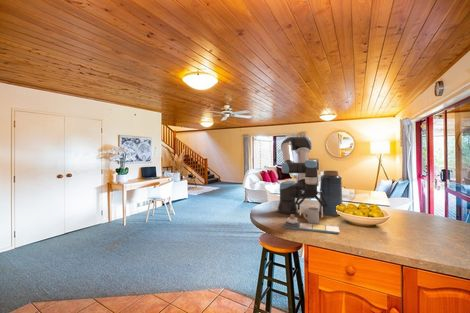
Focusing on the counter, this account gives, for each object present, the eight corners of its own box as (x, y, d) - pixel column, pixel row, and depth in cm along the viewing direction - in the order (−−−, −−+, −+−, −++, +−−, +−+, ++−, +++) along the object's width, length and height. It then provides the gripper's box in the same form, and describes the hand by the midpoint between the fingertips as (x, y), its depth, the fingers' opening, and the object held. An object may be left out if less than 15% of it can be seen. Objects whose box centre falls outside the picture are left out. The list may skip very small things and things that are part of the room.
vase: (321, 215, 160) (321, 172, 159) (317, 209, 176) (317, 170, 175) (345, 216, 156) (345, 172, 155) (339, 210, 172) (339, 170, 171)
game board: (286, 222, 145) (286, 219, 145) (338, 228, 133) (338, 224, 133) (283, 227, 135) (283, 224, 134) (339, 234, 123) (339, 231, 123)
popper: (287, 219, 142) (287, 212, 142) (298, 220, 140) (298, 213, 140) (286, 222, 136) (286, 215, 136) (297, 224, 134) (297, 216, 134)
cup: (317, 224, 140) (317, 210, 139) (301, 222, 145) (301, 208, 145) (320, 221, 146) (320, 208, 146) (304, 219, 151) (304, 206, 151)
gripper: (290, 183, 146) (290, 215, 146) (331, 185, 137) (332, 219, 137) (292, 182, 153) (292, 212, 153) (331, 183, 144) (331, 216, 144)
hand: (311, 215), depth 145 cm, fingers open, 13 cm apart
